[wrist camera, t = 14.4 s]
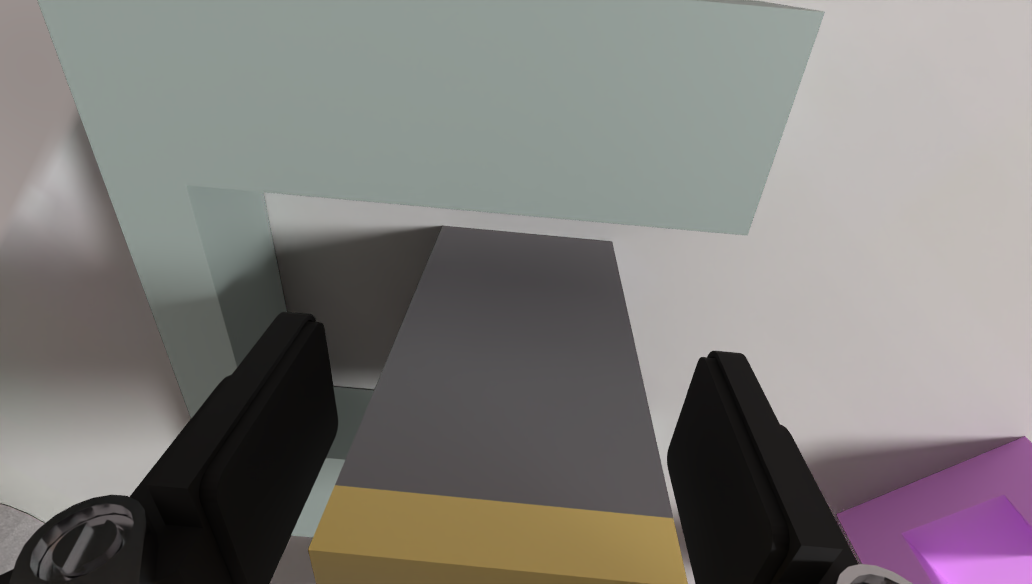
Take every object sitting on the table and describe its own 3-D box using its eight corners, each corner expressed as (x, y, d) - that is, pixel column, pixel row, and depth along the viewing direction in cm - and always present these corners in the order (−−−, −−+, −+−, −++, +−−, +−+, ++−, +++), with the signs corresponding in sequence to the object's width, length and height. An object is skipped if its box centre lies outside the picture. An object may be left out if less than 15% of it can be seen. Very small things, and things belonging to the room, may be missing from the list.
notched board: (622, 492, 17) (632, 567, 15) (271, 459, 17) (231, 529, 15) (762, 1, 9) (824, 11, 7) (134, -54, 9) (16, -59, 7)
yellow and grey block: (612, 241, 12) (688, 587, 5) (586, 370, 14) (619, 734, 8) (442, 225, 12) (308, 550, 5) (442, 357, 14) (346, 707, 8)
